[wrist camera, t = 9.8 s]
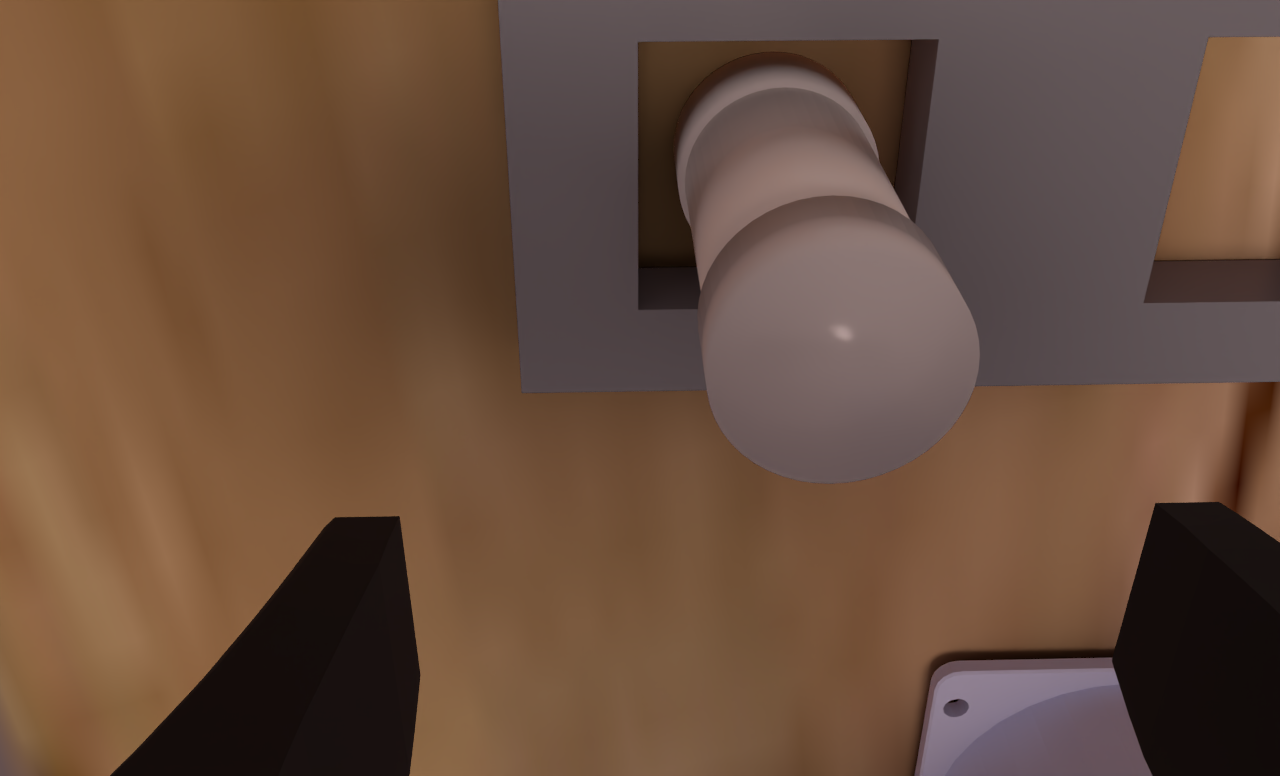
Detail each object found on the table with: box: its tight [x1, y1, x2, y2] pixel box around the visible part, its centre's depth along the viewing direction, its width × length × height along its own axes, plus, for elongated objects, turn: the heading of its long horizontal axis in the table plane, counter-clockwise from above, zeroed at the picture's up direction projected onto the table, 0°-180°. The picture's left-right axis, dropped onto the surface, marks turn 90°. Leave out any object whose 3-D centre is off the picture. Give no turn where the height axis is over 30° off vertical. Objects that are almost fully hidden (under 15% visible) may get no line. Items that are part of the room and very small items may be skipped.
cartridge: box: [673, 52, 980, 484], centre depth 16 cm, size 3×3×7 cm
